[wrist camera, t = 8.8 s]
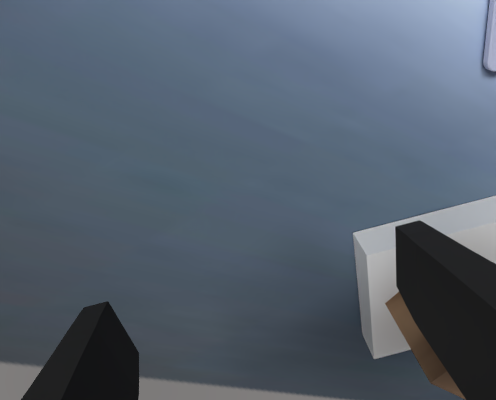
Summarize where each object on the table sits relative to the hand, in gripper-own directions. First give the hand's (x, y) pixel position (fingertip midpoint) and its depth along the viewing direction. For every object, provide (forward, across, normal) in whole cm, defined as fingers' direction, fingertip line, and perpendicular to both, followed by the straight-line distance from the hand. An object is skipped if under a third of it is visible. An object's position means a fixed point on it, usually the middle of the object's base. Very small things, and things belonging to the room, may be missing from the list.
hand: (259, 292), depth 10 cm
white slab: (+10, -10, +12) cm, 18 cm away
